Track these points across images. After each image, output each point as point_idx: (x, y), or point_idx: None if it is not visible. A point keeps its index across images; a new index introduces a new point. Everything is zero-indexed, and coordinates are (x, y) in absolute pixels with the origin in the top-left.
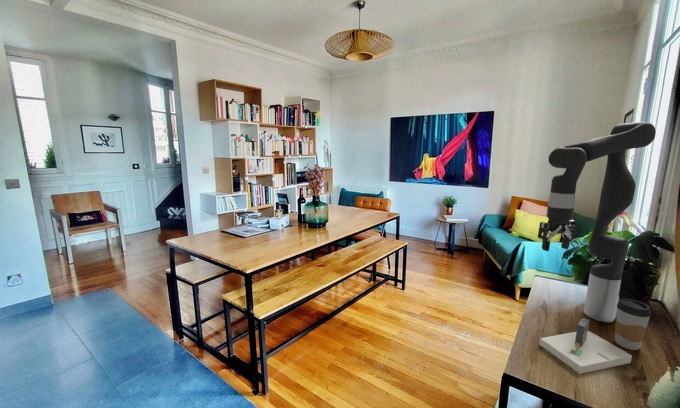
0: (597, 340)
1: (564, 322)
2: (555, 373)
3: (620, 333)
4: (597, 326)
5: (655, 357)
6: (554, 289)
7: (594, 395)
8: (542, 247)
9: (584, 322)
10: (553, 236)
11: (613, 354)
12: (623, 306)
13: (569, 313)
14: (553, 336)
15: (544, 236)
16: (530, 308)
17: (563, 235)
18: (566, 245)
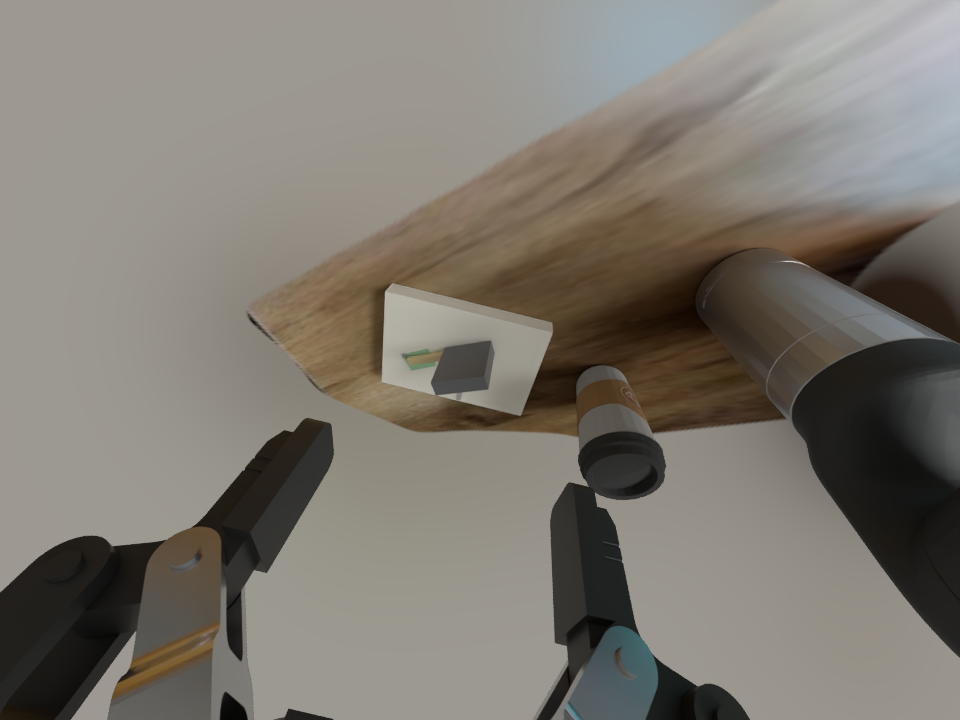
0: (518, 365)
1: (586, 254)
2: (341, 349)
3: (579, 397)
4: (648, 316)
5: None
6: None
7: (362, 400)
8: (270, 446)
9: (460, 387)
10: (245, 676)
11: (489, 398)
12: (590, 458)
13: (682, 228)
14: (428, 304)
15: (73, 647)
16: (591, 112)
17: (582, 677)
18: (556, 548)
